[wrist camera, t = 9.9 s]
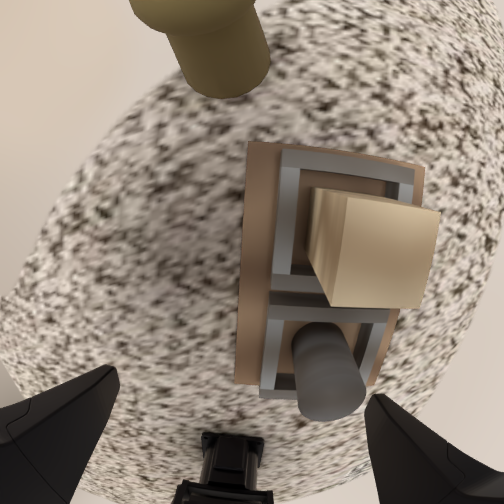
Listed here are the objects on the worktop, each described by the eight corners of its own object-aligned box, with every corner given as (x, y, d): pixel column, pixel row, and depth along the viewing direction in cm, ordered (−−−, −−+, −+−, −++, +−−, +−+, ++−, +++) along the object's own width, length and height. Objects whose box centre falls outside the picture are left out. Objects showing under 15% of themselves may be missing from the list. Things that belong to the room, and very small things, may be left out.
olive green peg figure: (283, 39, 15) (297, -70, 4) (250, 110, 16) (228, 30, 6) (203, 19, 14) (155, -79, 4) (168, 86, 16) (76, 18, 6)
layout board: (370, 378, 22) (394, 435, 15) (235, 375, 22) (225, 439, 15) (418, 167, 17) (480, 169, 10) (249, 142, 17) (238, 123, 10)
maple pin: (362, 254, 18) (419, 308, 10) (304, 249, 18) (330, 306, 10) (371, 194, 16) (440, 212, 9) (311, 186, 17) (347, 197, 9)
